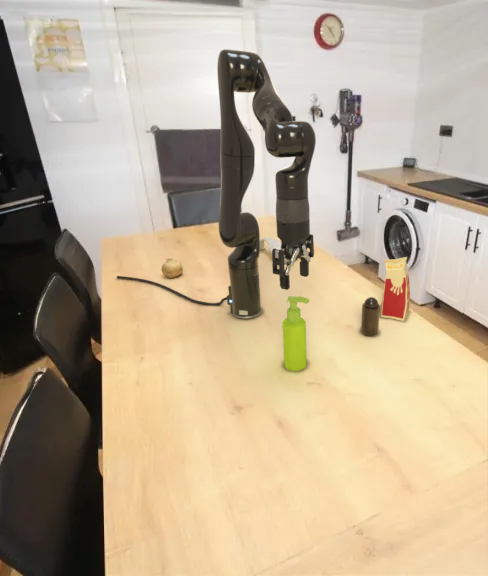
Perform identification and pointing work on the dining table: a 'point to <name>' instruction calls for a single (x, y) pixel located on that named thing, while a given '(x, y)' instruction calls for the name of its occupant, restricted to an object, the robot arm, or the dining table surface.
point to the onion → (171, 268)
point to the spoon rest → (271, 244)
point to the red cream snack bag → (396, 290)
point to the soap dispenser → (294, 336)
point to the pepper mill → (370, 317)
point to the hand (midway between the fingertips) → (295, 282)
